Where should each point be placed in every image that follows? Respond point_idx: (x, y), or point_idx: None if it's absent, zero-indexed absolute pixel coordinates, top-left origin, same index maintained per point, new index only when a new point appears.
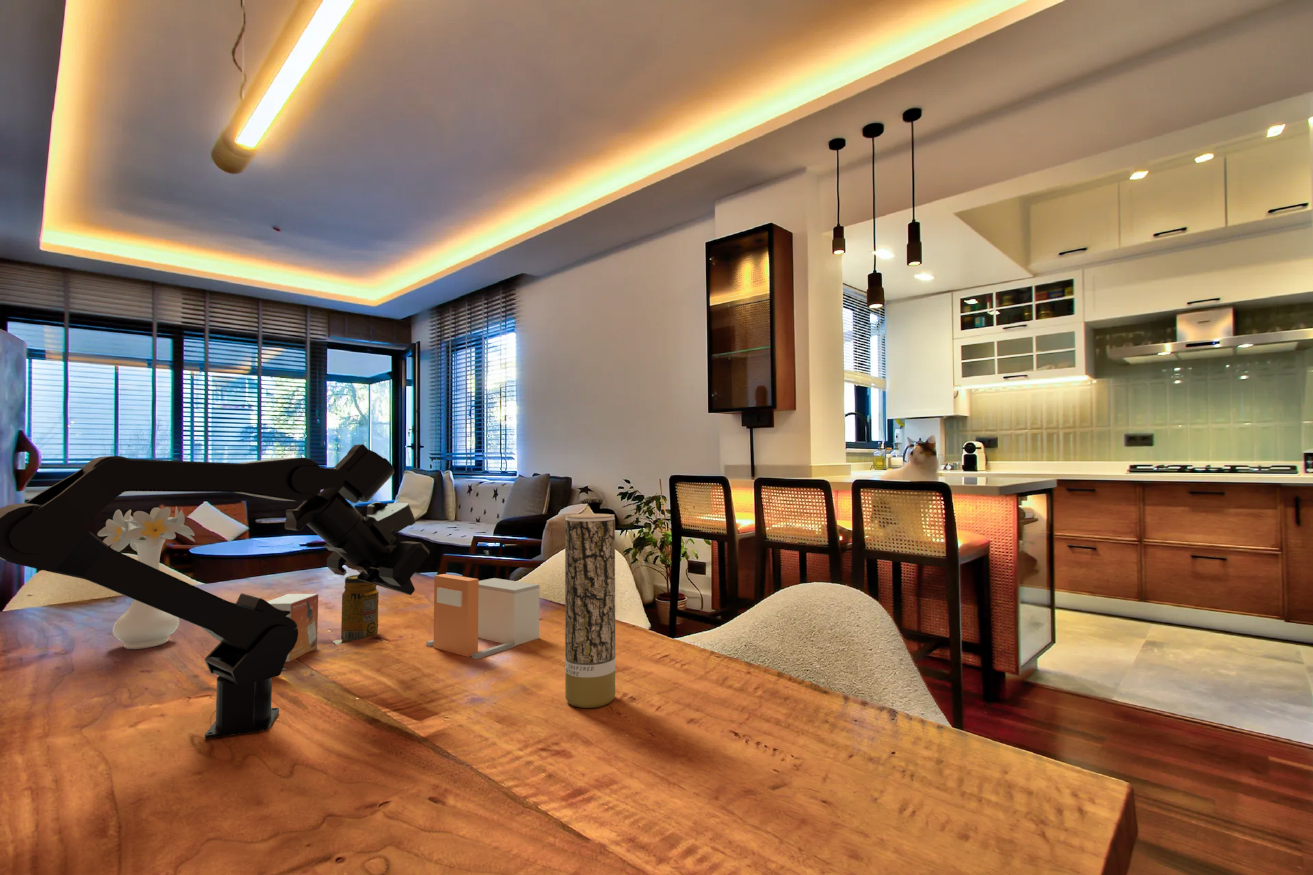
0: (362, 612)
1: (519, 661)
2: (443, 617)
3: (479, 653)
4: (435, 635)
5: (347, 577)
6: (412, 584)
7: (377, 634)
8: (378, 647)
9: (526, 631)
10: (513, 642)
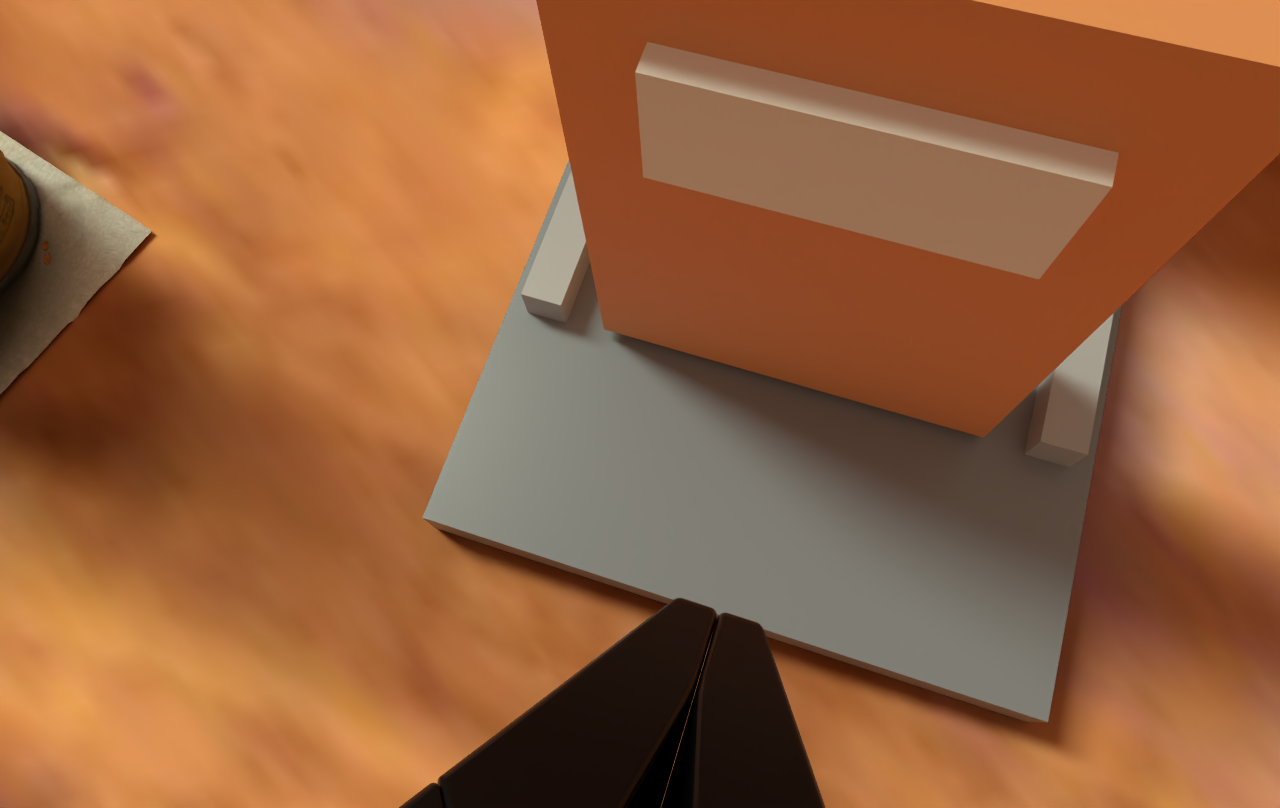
0: None
1: (1210, 279)
2: (715, 245)
3: (1092, 425)
4: (618, 297)
5: None
6: (786, 706)
7: (4, 156)
8: (128, 296)
9: None
10: None
